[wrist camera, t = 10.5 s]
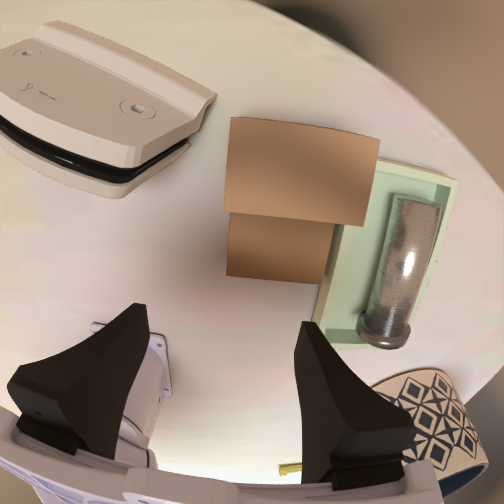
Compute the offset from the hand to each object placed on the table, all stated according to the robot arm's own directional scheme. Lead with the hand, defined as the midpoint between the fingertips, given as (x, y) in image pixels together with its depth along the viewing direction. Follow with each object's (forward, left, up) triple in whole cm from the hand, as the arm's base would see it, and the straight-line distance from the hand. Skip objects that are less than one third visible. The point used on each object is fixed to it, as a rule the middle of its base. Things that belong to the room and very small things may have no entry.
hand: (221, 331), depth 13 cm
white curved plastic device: (+11, +11, -10) cm, 19 cm away
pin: (0, -11, -9) cm, 14 cm away
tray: (0, -11, -10) cm, 15 cm away
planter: (-21, -22, -10) cm, 32 cm away
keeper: (+3, -3, -10) cm, 11 cm away
